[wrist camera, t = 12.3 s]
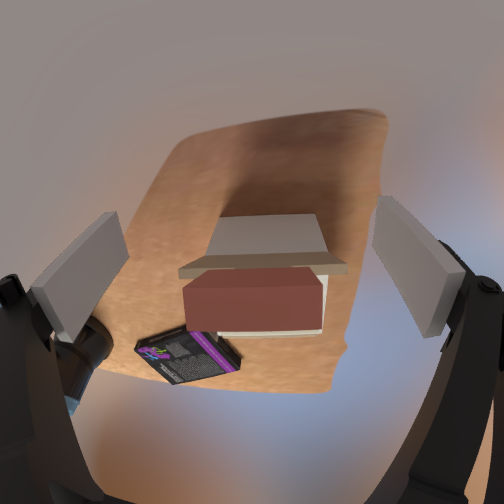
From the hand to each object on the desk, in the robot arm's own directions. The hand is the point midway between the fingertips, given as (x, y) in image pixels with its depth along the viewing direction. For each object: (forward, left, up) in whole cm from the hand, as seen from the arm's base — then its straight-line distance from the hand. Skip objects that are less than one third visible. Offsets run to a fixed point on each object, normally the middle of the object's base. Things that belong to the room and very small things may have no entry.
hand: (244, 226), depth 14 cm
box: (-18, -41, -27) cm, 52 cm away
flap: (0, -7, -5) cm, 9 cm away
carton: (0, -17, -26) cm, 31 cm away
